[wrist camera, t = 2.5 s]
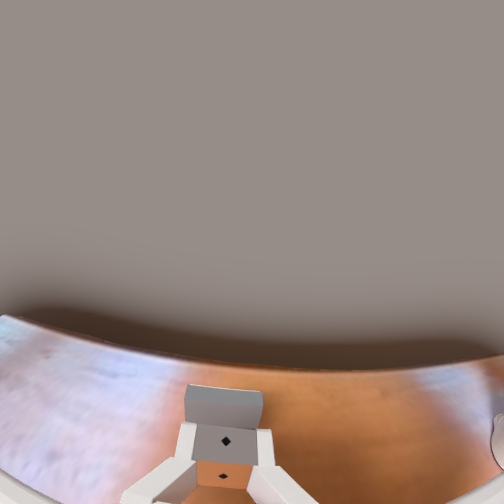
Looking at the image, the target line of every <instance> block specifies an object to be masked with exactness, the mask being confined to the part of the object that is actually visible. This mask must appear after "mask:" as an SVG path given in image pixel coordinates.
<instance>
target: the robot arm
mask: <svg viewBox="0 0 504 504" xmlns="http://www.w3.org/2000/svg"><path fill="white" fill-rule="evenodd" d="M493 422H494V432H493V435H492V440H491V445H492V451H493V454H494V457H495V459H496V460H497V462H498V464H499V465H500V466H501V468H502V469H503V470H504V413H500V414H497V415H496V417H495V418H494V420H493ZM197 485H200V486H211V487H224V488H235V489H247V492H248V493H249V494H250V496H251V497H252V498H253V500H254V501H255V502H256V504H319V503H318V502H317V501H315V500H314V499H313V498H312V497H311V496H310V495H309V494H308V493H307V492H306V491H305V490H304V489H303V488H302V487H301V486H299V485H298V484H297V483H296V482H295V481H294V480H293V479H292V478H291V477H290V476H289V475H288V474H287V473H286V472H285V471H284V470H283V469H282V468H281V466H276V465H275V456H274V447H273V438H272V431H271V429H255V428H238V427H221V426H213V425H206V424H199V423H192V422H186V421H183V422H182V424H181V428H180V432H179V437H178V442H177V447H176V451H175V456H174V457H169V458H168V459H166V460H165V461H164V462H162V463H161V464H160V465H159V466H157V467H156V468H155V469H153V470H152V471H151V472H149V473H148V474H147V475H145V476H144V477H143V478H141V479H140V480H139V481H137V482H136V483H134V484H133V485H132V486H130V487H129V488H127V489H126V490H125V491H123V494H122V497H121V500H120V504H181V503H182V502H183V501H184V500H185V499H186V497H187V496H188V495H189V494H190V493H191V492H192V491H193V490H194V489H195V488H196V487H197ZM0 504H63V503H61V502H59V501H57V500H54V499H52V498H50V497H48V496H46V495H44V494H43V493H41V492H39V491H37V490H35V489H33V488H31V487H30V486H28V485H26V484H24V483H23V482H21V481H19V480H18V479H16V478H14V477H13V476H11V475H10V474H8V473H7V472H5V471H4V470H2V469H1V468H0ZM445 504H504V471H503V472H501V473H500V474H498V475H497V476H495V477H494V478H492V479H490V480H489V481H487V482H485V483H484V484H482V485H480V486H478V487H477V488H475V489H473V490H471V491H469V492H467V493H466V494H464V495H462V496H460V497H458V498H456V499H454V500H452V501H450V502H447V503H445Z"/></svg>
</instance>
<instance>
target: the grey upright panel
mask: <svg viewBox="0 0 504 504" xmlns="http://www.w3.org/2000/svg"><path fill="white" fill-rule="evenodd" d="M184 403H185V421H186V422H192V423H199V424H206V425H213V426H221V427H238V428H255V429H258V428H259V423H260V419H261V415H262V410H263V396H262V392H260V391H250V390H237V389H226V388H216V387H208V386H200V385H192V384H190V385H187V390H186V394H185V398H184Z"/></svg>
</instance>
